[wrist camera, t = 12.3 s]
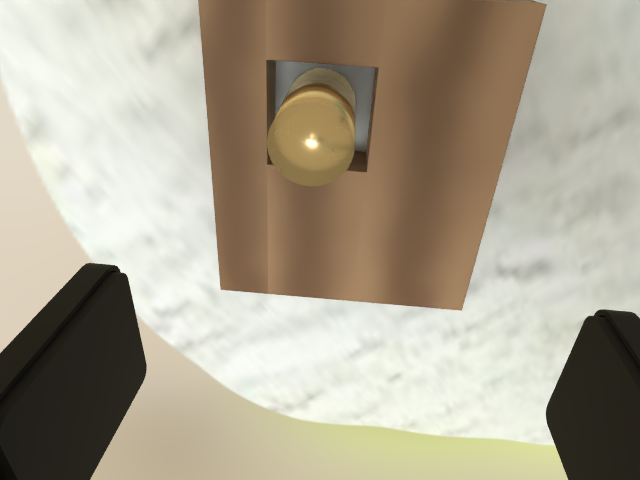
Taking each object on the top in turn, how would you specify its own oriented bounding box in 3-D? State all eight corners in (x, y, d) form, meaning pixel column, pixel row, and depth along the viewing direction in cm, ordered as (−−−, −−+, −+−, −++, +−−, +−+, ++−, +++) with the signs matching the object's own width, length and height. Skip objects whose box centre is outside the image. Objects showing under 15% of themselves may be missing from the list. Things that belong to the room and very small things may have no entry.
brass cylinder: (358, 70, 26) (358, 105, 20) (352, 139, 28) (350, 189, 22) (287, 65, 26) (266, 98, 20) (286, 134, 28) (267, 183, 22)
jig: (526, -1, 24) (546, 4, 21) (453, 282, 33) (461, 310, 30) (214, -21, 24) (196, -18, 22) (231, 264, 34) (220, 289, 31)
